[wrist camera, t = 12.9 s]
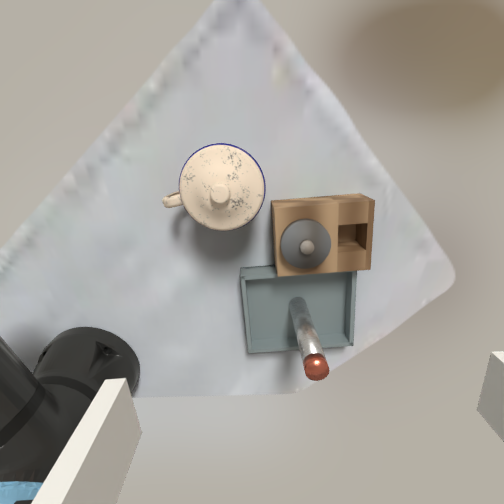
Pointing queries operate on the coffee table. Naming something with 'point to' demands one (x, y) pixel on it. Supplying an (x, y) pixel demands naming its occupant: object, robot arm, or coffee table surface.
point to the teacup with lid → (220, 187)
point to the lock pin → (308, 341)
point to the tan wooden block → (322, 234)
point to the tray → (278, 311)
